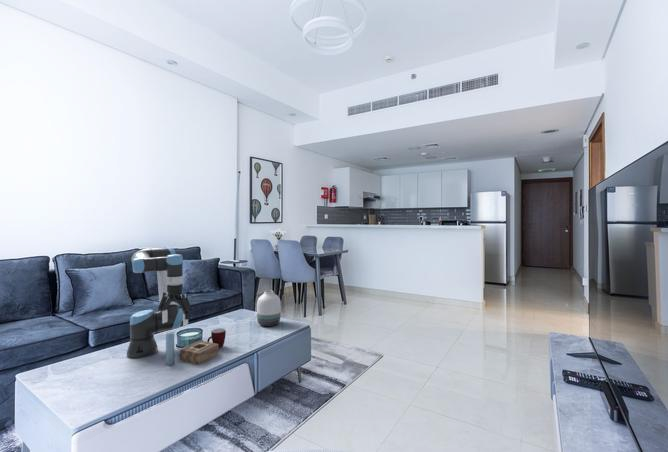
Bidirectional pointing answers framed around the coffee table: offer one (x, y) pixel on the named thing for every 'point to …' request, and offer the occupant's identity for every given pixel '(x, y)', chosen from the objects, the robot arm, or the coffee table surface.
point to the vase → (268, 309)
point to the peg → (170, 349)
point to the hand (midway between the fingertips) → (175, 323)
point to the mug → (218, 336)
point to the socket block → (199, 352)
